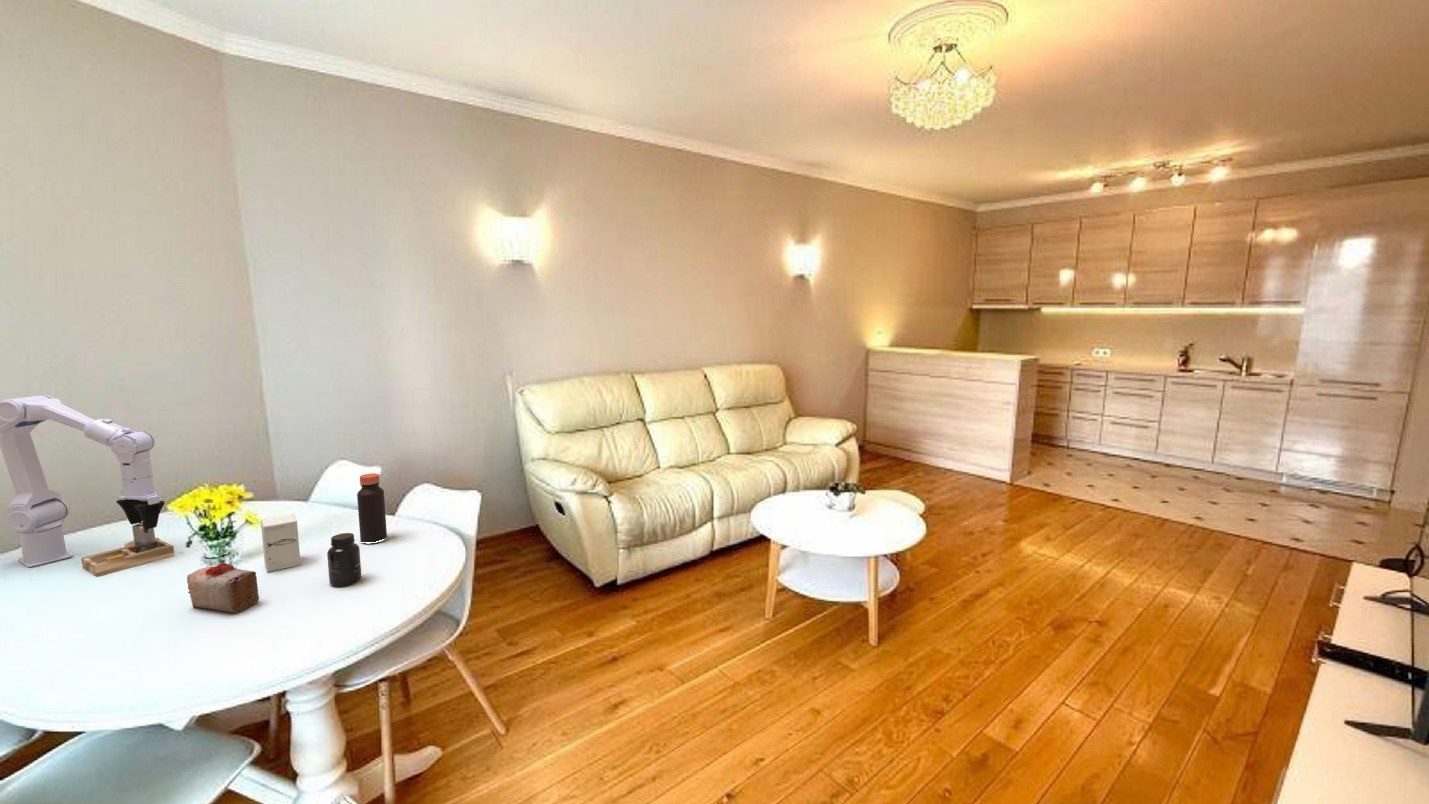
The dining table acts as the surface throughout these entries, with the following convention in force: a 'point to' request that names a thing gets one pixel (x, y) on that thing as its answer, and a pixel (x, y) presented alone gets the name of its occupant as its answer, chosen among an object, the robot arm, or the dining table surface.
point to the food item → (223, 588)
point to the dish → (132, 543)
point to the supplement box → (280, 542)
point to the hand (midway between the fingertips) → (143, 525)
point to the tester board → (125, 558)
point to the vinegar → (371, 509)
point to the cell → (143, 538)
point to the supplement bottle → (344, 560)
